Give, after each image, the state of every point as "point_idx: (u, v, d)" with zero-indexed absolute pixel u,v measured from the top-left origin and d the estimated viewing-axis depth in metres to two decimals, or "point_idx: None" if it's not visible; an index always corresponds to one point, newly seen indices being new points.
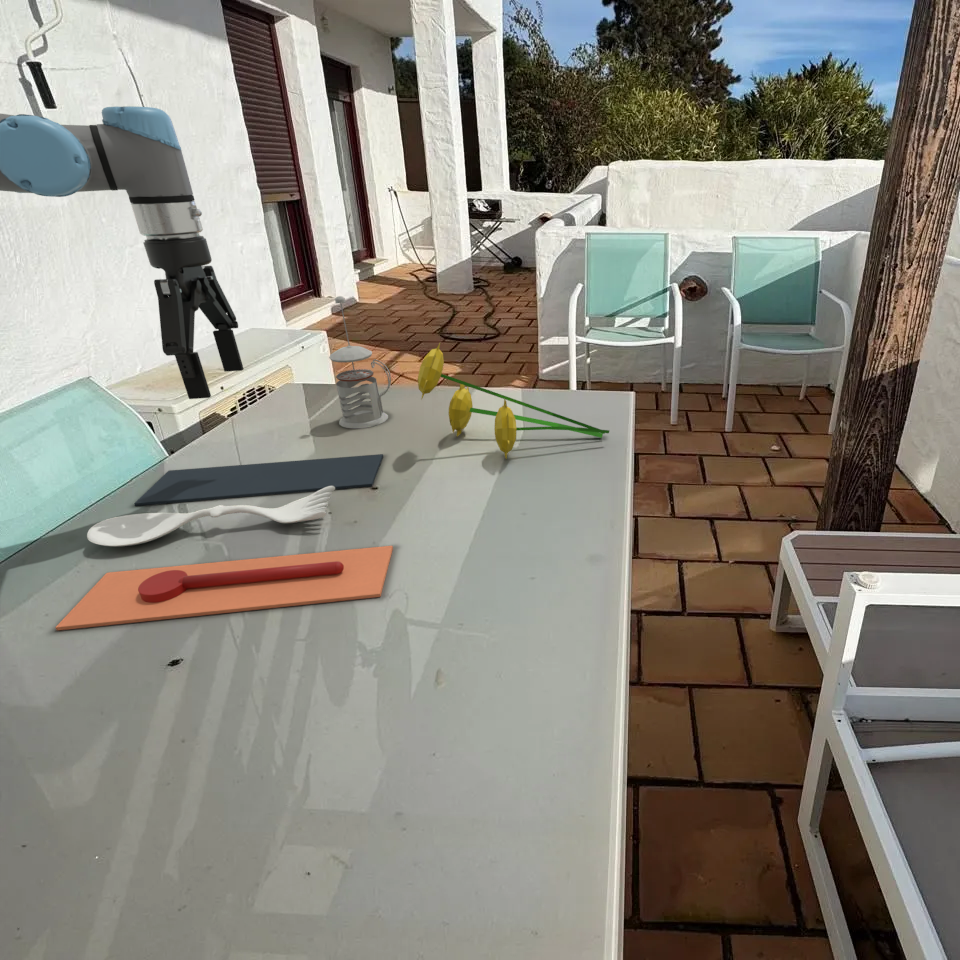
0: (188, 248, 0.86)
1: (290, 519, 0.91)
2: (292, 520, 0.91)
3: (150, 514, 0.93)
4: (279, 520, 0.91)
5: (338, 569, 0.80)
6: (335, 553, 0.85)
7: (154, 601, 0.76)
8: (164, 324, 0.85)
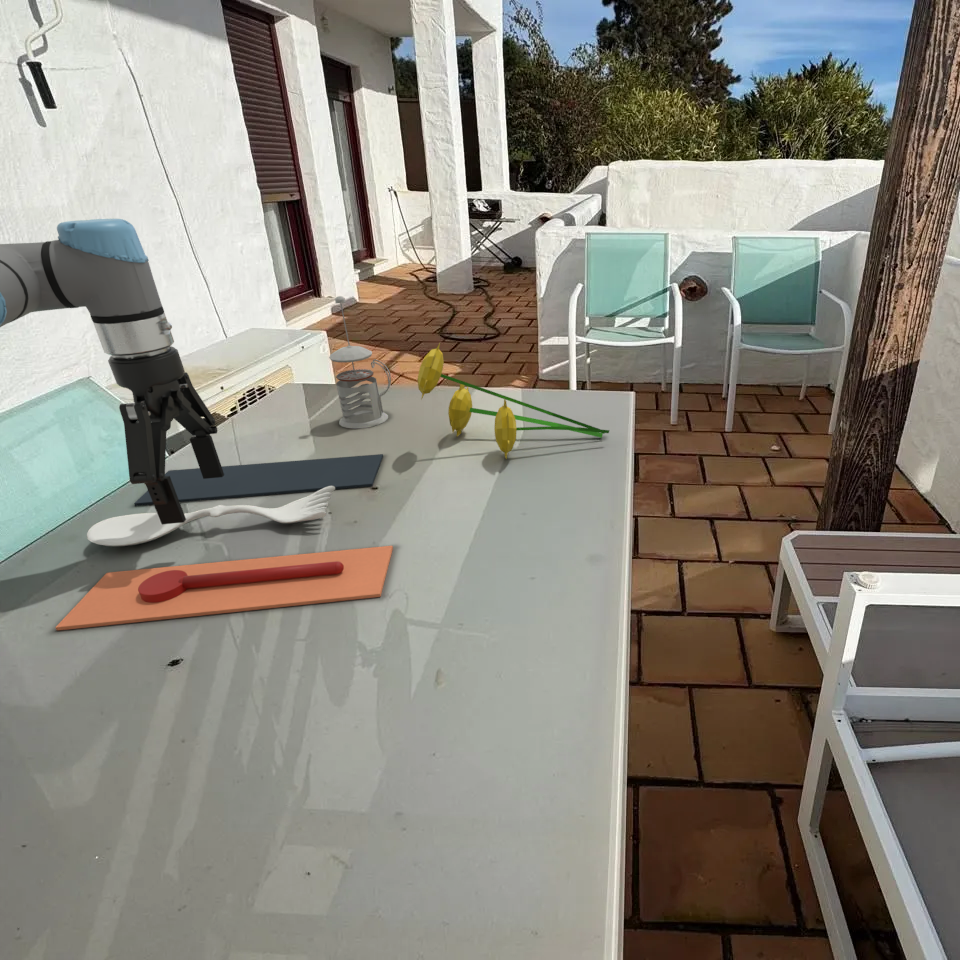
0: (158, 366, 0.79)
1: (290, 519, 0.91)
2: (292, 520, 0.91)
3: (150, 514, 0.93)
4: (279, 520, 0.91)
5: (338, 569, 0.80)
6: (335, 553, 0.85)
7: (154, 601, 0.76)
8: (131, 452, 0.77)
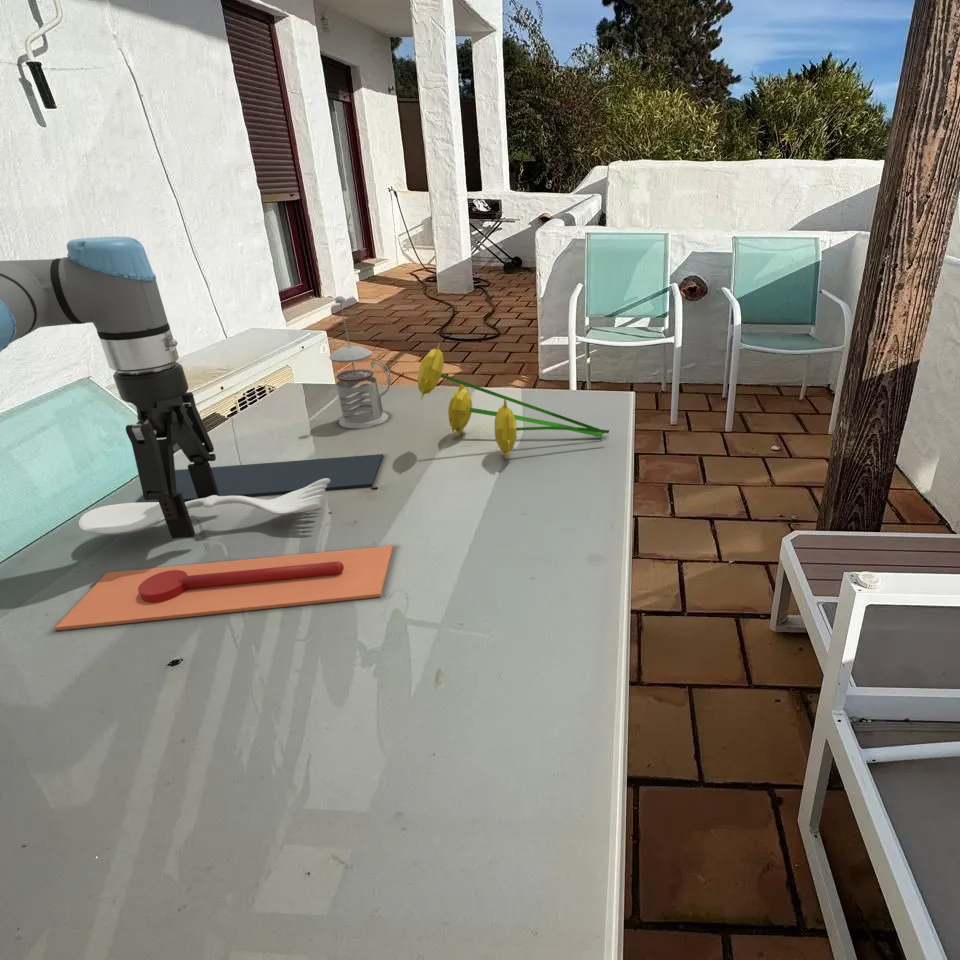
0: (162, 382, 0.80)
1: (284, 510, 0.90)
2: (286, 511, 0.90)
3: (143, 503, 0.93)
4: (273, 511, 0.90)
5: (338, 569, 0.80)
6: (335, 553, 0.85)
7: (154, 601, 0.76)
8: (142, 471, 0.80)
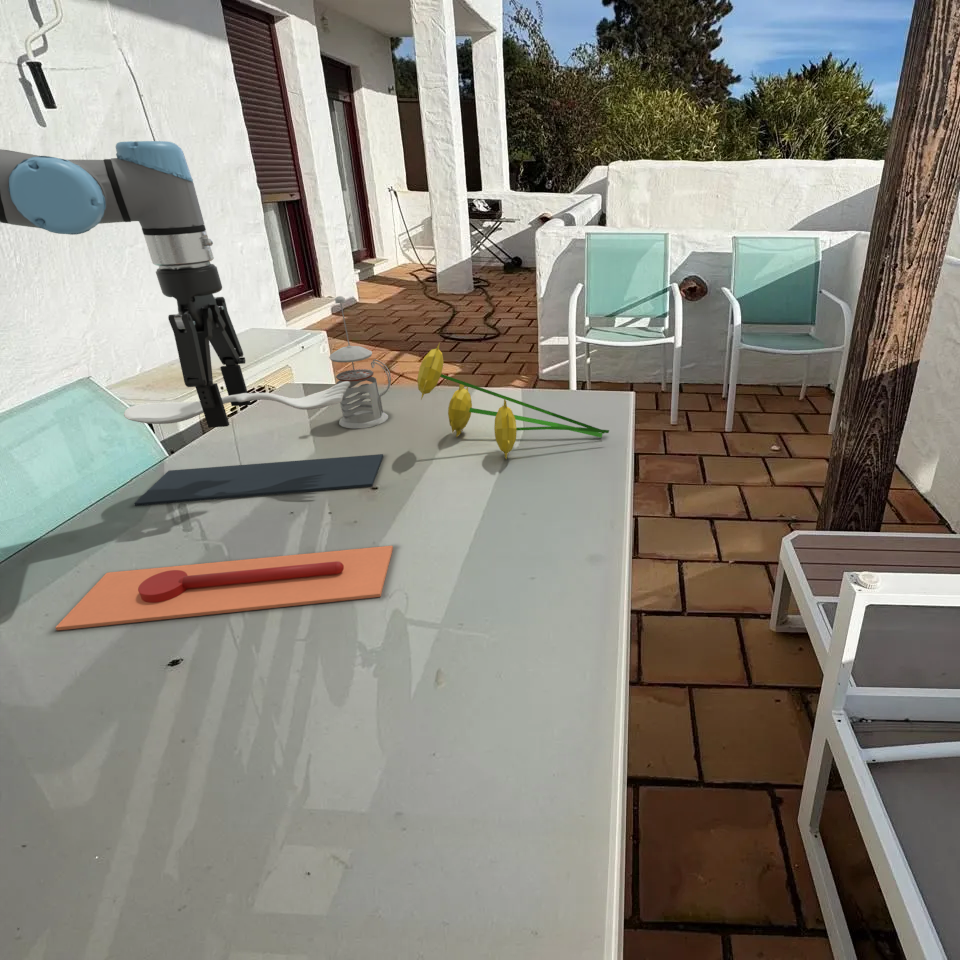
0: (200, 277, 0.88)
1: (309, 405, 0.98)
2: (311, 405, 0.98)
3: (180, 402, 1.01)
4: (299, 406, 0.99)
5: (338, 569, 0.80)
6: (335, 553, 0.85)
7: (154, 601, 0.76)
8: (183, 358, 0.88)
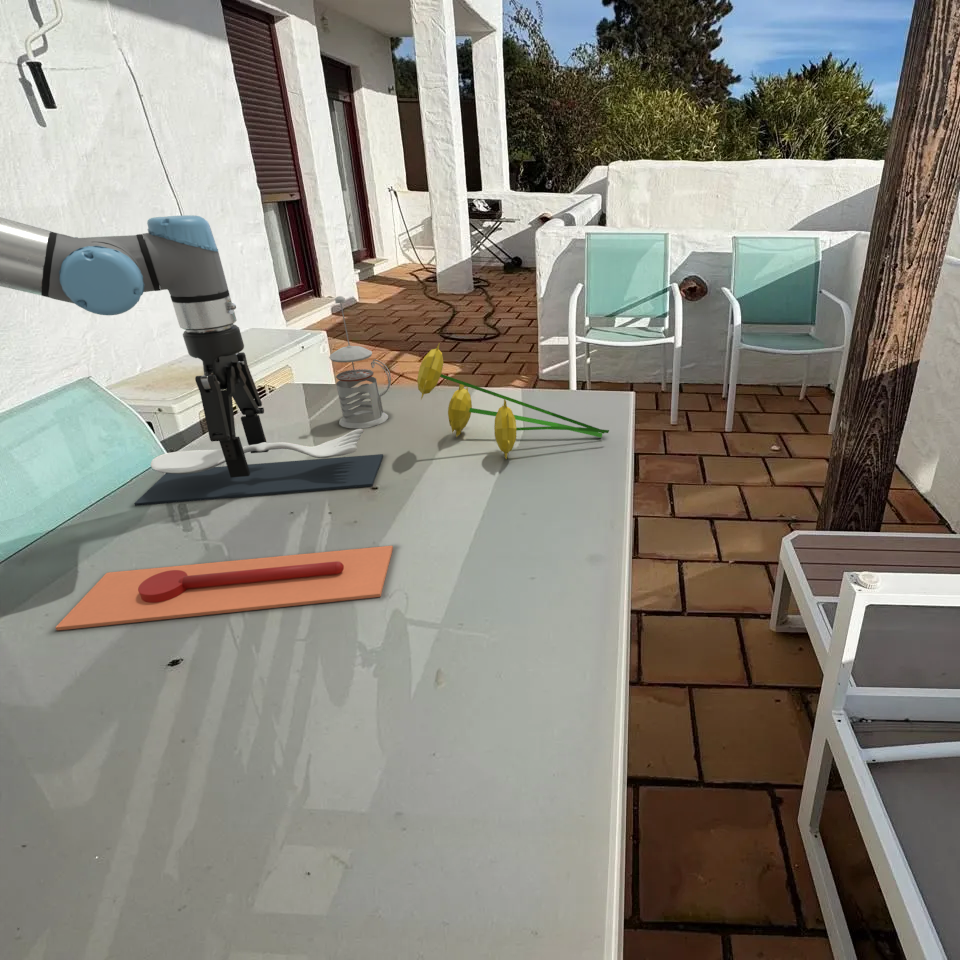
0: (224, 340, 0.94)
1: (325, 454, 1.04)
2: (327, 455, 1.04)
3: (202, 451, 1.07)
4: (316, 455, 1.04)
5: (338, 569, 0.80)
6: (335, 553, 0.85)
7: (154, 601, 0.76)
8: (208, 416, 0.94)
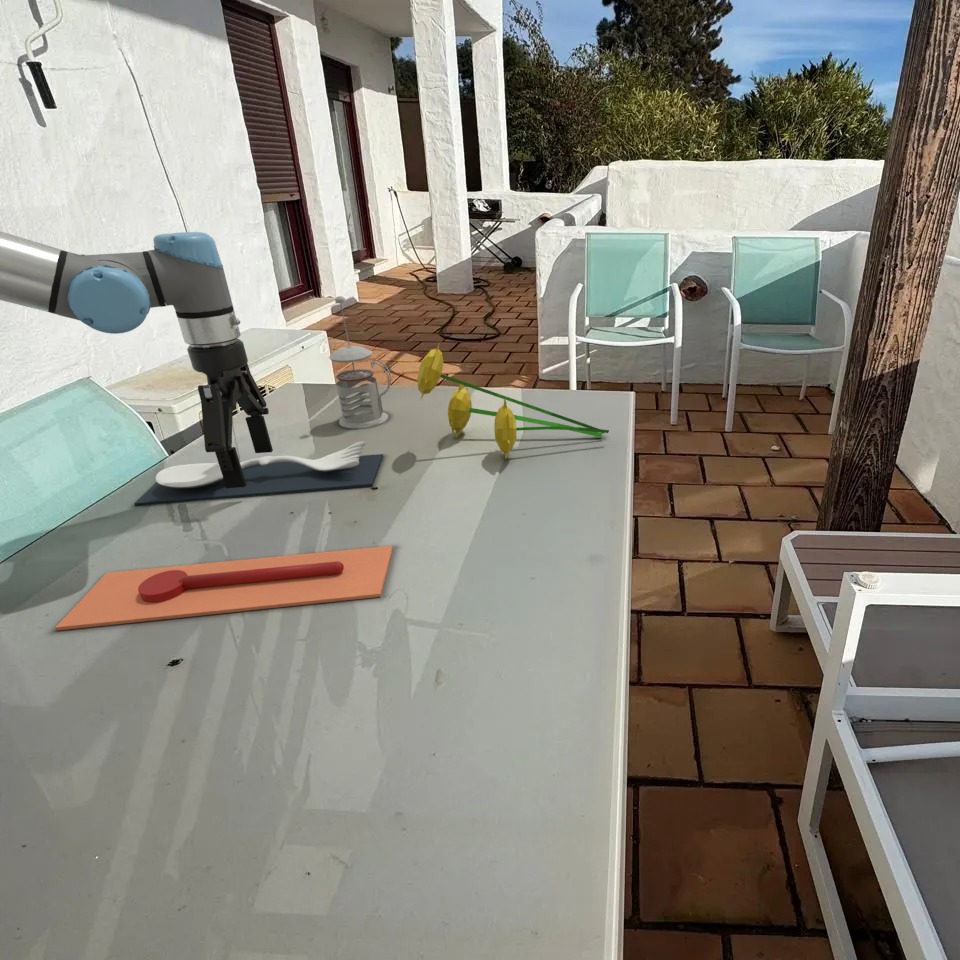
0: (228, 354, 0.94)
1: (328, 467, 1.05)
2: (330, 468, 1.05)
3: (206, 464, 1.08)
4: (318, 468, 1.05)
5: (338, 569, 0.80)
6: (335, 553, 0.85)
7: (154, 601, 0.76)
8: (206, 425, 0.93)
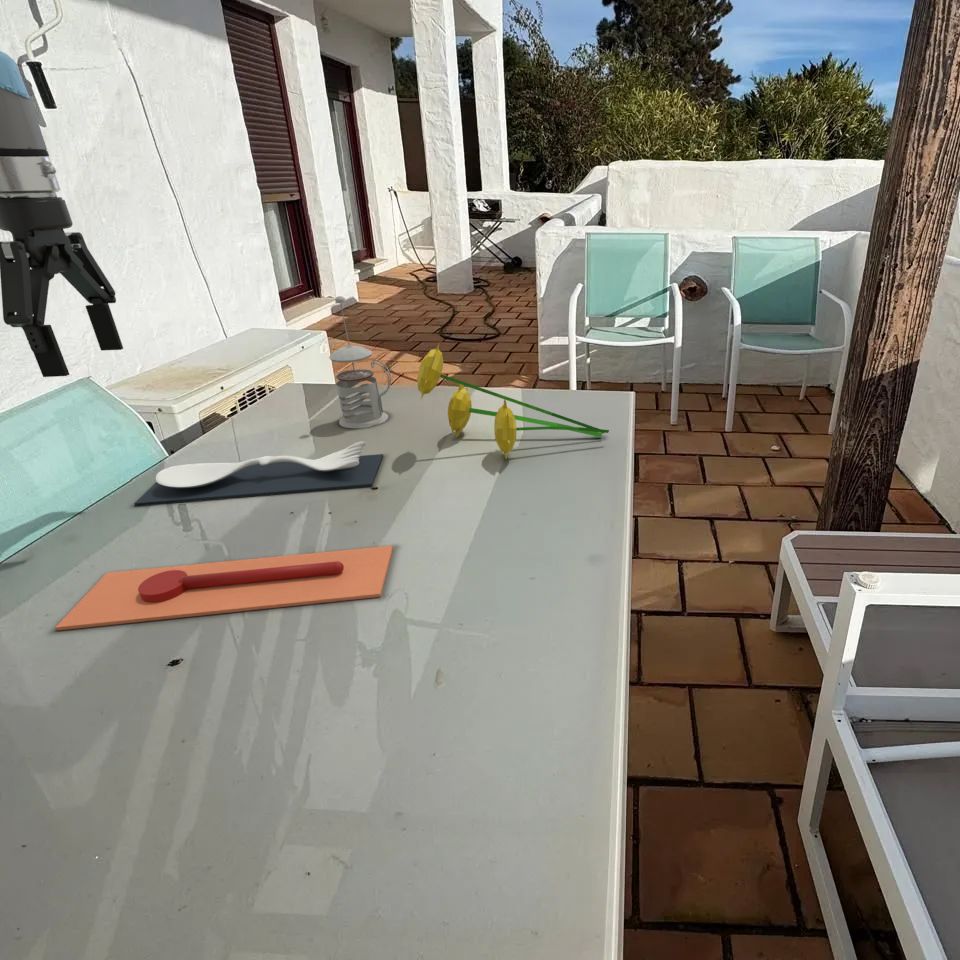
0: (39, 208, 0.78)
1: (328, 467, 1.05)
2: (330, 468, 1.05)
3: (206, 464, 1.08)
4: (318, 468, 1.05)
5: (338, 569, 0.80)
6: (335, 553, 0.85)
7: (154, 601, 0.76)
8: (6, 291, 0.76)
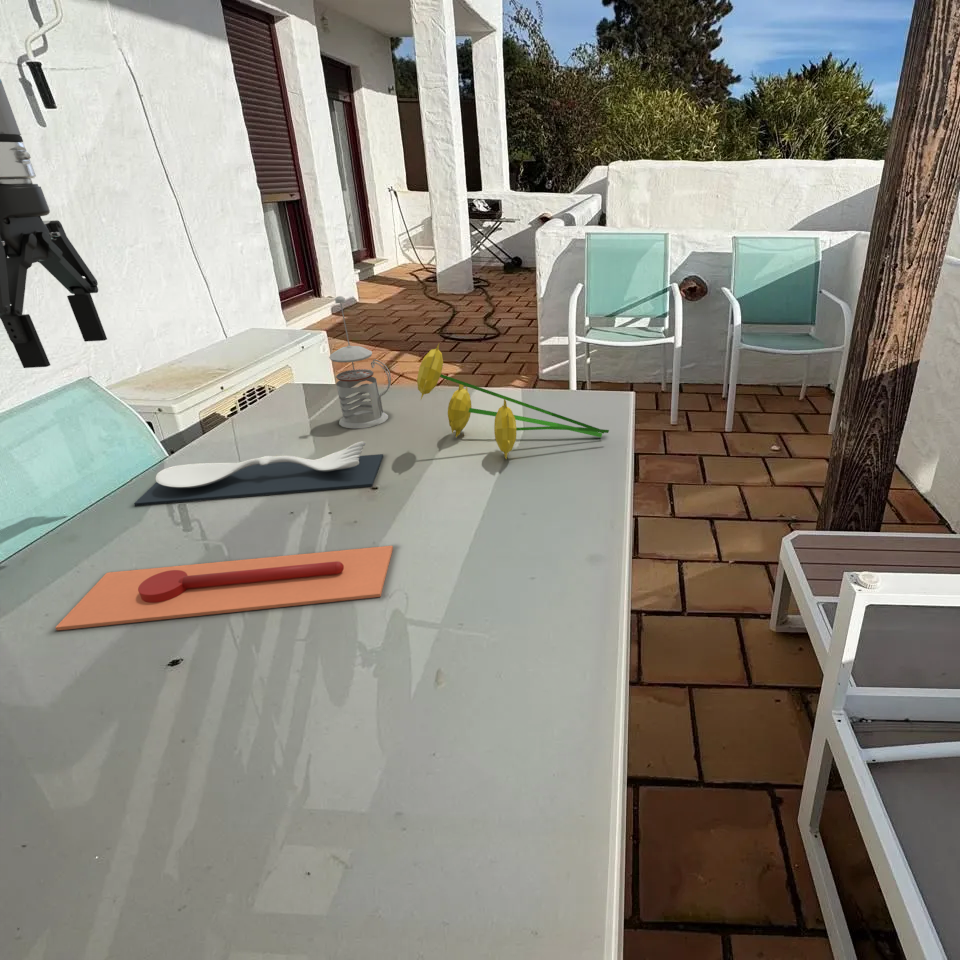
0: (14, 195, 0.76)
1: (328, 467, 1.05)
2: (330, 468, 1.05)
3: (206, 464, 1.08)
4: (318, 468, 1.05)
5: (338, 569, 0.80)
6: (335, 553, 0.85)
7: (154, 601, 0.76)
8: None
